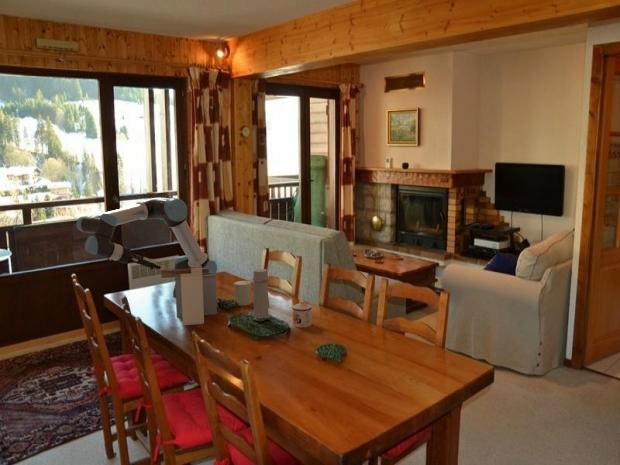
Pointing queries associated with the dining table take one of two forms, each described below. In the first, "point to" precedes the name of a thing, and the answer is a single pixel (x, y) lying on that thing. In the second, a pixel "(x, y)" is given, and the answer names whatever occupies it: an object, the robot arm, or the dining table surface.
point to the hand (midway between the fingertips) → (160, 266)
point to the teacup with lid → (302, 315)
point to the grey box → (208, 294)
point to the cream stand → (192, 297)
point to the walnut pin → (180, 272)
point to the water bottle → (260, 293)
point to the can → (242, 292)
